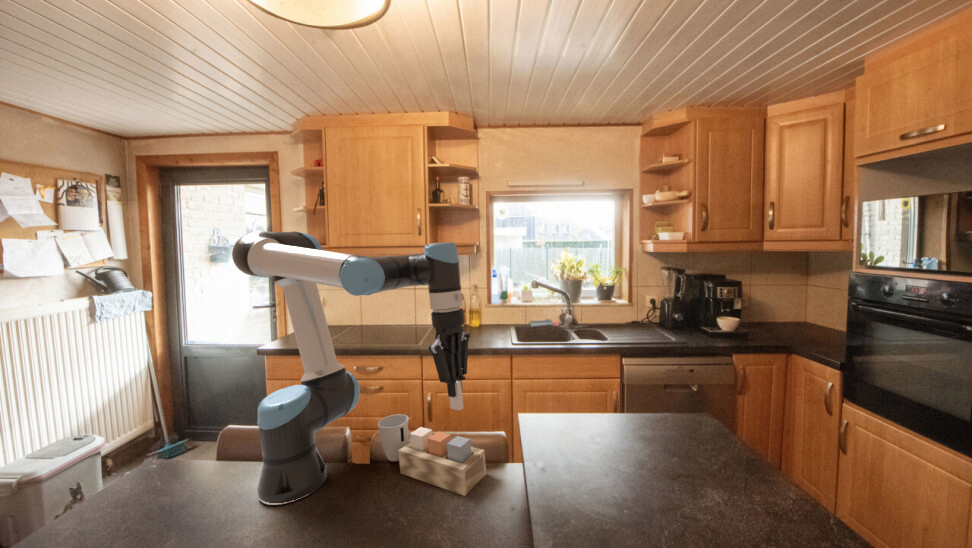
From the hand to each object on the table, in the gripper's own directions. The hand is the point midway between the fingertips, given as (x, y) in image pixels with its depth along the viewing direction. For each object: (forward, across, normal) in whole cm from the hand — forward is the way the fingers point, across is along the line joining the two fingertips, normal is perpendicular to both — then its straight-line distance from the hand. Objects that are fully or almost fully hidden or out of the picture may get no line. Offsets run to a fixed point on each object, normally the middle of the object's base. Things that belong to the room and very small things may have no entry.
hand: (457, 408), depth 88 cm
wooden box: (+18, 0, +6) cm, 19 cm away
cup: (+18, +1, +24) cm, 29 cm away
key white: (+14, 0, +12) cm, 19 cm away
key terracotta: (+14, 0, +6) cm, 15 cm away
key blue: (+14, 0, 0) cm, 14 cm away
